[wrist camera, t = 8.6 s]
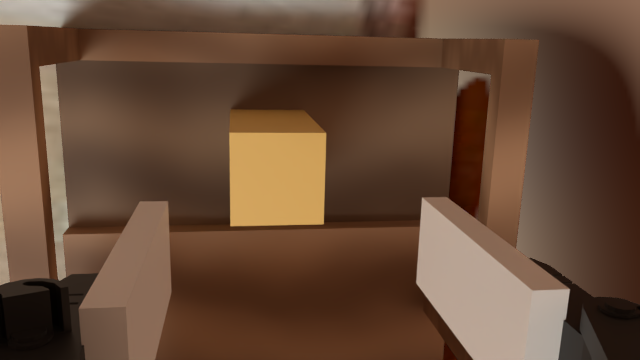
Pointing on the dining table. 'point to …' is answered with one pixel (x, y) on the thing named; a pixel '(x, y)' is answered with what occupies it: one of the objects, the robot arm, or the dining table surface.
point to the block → (276, 168)
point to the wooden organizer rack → (214, 176)
